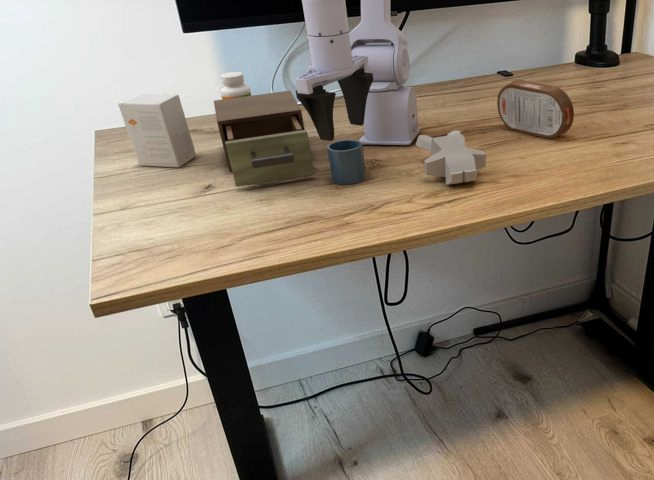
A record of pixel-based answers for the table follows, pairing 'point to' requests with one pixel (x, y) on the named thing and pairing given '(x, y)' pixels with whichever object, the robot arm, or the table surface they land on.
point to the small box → (157, 130)
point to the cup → (346, 162)
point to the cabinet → (254, 111)
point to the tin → (535, 108)
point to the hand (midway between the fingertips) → (342, 131)
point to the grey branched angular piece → (451, 158)
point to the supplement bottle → (234, 86)
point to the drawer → (268, 150)
